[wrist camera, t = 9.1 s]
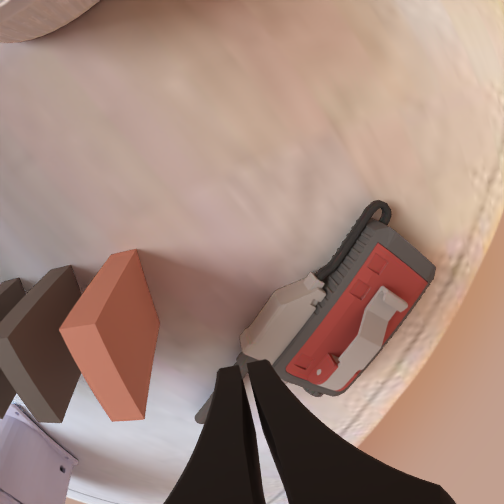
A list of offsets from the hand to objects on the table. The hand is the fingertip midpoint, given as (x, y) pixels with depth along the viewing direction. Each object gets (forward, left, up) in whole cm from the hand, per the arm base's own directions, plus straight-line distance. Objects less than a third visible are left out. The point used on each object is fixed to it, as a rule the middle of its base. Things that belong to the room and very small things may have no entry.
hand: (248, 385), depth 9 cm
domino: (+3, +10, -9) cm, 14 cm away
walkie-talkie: (-7, -3, -10) cm, 13 cm away
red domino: (+2, +5, -9) cm, 11 cm away
